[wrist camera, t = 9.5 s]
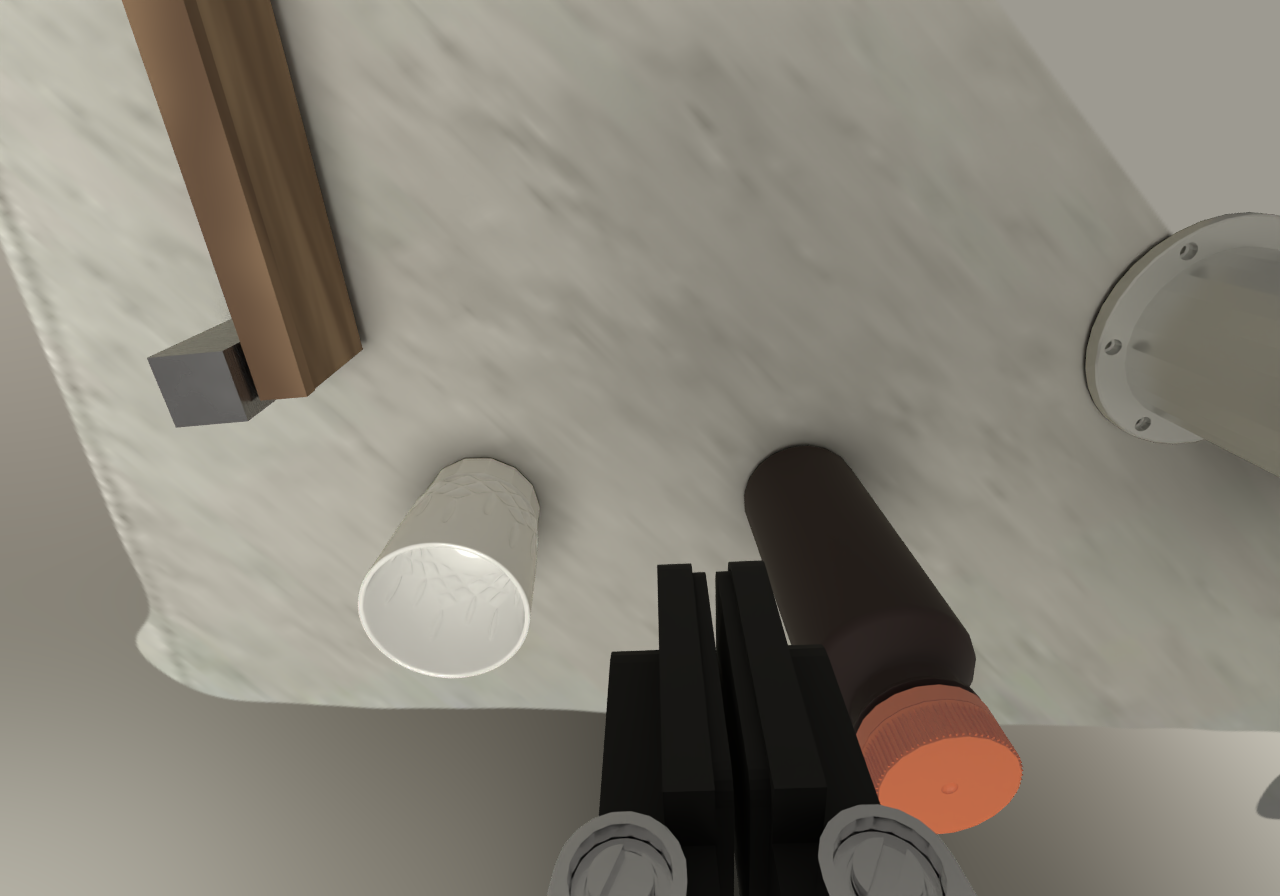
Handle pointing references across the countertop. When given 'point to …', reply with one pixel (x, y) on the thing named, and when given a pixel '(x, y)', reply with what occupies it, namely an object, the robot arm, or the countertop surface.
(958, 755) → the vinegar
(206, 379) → the post
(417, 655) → the white cup
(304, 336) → the brown wooden board
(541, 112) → the countertop surface
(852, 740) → the robot arm
